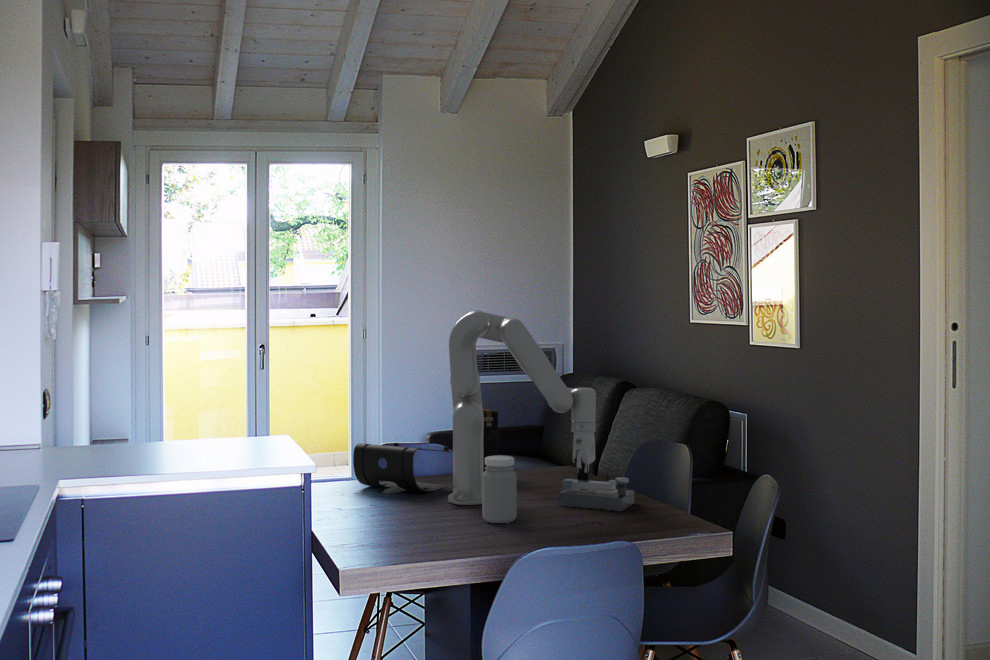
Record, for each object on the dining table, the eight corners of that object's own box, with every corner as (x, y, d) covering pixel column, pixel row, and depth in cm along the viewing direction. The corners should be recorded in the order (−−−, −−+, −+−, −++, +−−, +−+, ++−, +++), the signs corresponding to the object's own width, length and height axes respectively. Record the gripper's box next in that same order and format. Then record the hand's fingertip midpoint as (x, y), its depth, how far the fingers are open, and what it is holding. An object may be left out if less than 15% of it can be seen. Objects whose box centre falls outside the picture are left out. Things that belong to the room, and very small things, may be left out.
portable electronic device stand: (350, 490, 299) (350, 444, 299) (390, 479, 320) (390, 436, 320) (415, 498, 287) (415, 449, 287) (452, 486, 308) (452, 441, 308)
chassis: (621, 511, 268) (622, 488, 268) (559, 505, 276) (559, 482, 276) (634, 503, 279) (634, 481, 279) (573, 497, 288) (573, 476, 288)
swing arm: (626, 493, 272) (626, 480, 272) (562, 487, 280) (562, 475, 280) (630, 490, 275) (630, 477, 275) (566, 485, 283) (566, 473, 283)
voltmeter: (461, 474, 330) (461, 406, 330) (482, 473, 334) (483, 406, 333) (478, 482, 316) (478, 411, 315) (500, 480, 319) (501, 409, 319)
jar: (522, 519, 257) (522, 456, 257) (505, 526, 249) (505, 461, 249) (493, 515, 262) (493, 454, 262) (475, 522, 254) (475, 458, 253)
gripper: (588, 430, 274) (588, 490, 275) (601, 425, 288) (600, 482, 289) (564, 429, 277) (564, 488, 277) (578, 423, 291) (578, 480, 291)
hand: (583, 485), depth 283 cm, fingers closed
